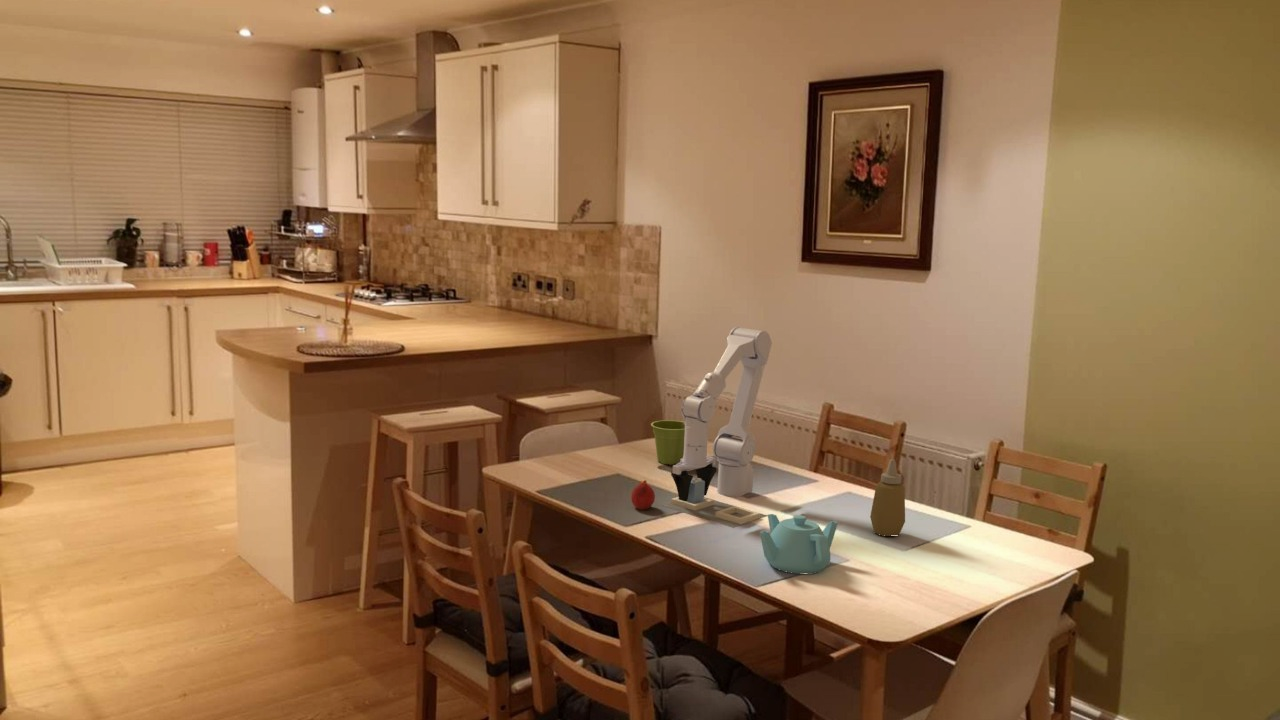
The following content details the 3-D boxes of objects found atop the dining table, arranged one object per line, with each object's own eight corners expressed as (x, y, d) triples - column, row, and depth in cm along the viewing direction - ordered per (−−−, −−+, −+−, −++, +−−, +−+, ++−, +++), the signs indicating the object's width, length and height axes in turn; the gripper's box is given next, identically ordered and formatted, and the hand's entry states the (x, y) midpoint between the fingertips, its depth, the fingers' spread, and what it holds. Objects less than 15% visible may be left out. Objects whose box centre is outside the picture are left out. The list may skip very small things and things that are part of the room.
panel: (697, 499, 261) (697, 490, 261) (767, 519, 246) (768, 510, 246) (661, 509, 251) (662, 500, 250) (733, 531, 236) (733, 522, 236)
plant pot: (647, 456, 302) (648, 419, 300) (686, 457, 303) (688, 420, 302) (651, 467, 290) (653, 428, 289) (692, 467, 292) (694, 429, 290)
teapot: (753, 571, 211) (756, 521, 210) (766, 548, 226) (769, 502, 224) (827, 582, 207) (831, 531, 205) (835, 558, 221) (839, 511, 220)
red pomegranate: (651, 516, 245) (653, 484, 244) (628, 513, 246) (629, 482, 245) (656, 509, 250) (657, 478, 249) (633, 507, 252) (634, 475, 250)
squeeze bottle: (905, 531, 242) (911, 458, 239) (902, 541, 235) (909, 466, 232) (871, 526, 245) (877, 454, 242) (867, 536, 237) (873, 461, 234)
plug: (691, 500, 256) (692, 475, 255) (703, 504, 253) (705, 478, 252) (681, 503, 253) (682, 478, 252) (693, 507, 250) (694, 481, 249)
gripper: (701, 437, 259) (698, 488, 261) (664, 445, 248) (661, 499, 250) (723, 442, 254) (720, 494, 256) (686, 451, 243) (683, 505, 245)
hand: (692, 497), depth 253 cm, fingers open, 7 cm apart
